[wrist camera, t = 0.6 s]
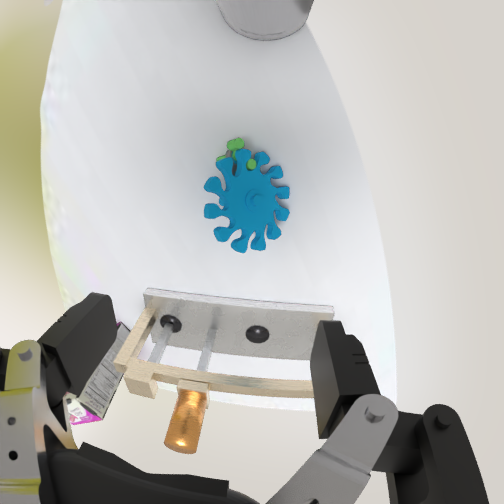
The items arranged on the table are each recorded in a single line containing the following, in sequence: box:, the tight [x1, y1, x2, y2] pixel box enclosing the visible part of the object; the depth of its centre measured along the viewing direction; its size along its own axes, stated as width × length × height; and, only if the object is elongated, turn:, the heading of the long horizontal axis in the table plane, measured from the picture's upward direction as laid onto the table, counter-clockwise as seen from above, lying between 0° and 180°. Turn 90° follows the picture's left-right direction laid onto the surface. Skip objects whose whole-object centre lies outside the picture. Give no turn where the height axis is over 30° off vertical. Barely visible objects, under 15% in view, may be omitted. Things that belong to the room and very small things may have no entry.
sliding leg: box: [164, 329, 216, 454], centre depth 28 cm, size 3×3×18 cm
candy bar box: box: [64, 322, 130, 425], centre depth 35 cm, size 11×5×16 cm, turn 126°
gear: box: [204, 138, 290, 253], centre depth 28 cm, size 11×6×10 cm
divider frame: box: [113, 288, 334, 399], centre depth 32 cm, size 9×25×14 cm, turn 86°
